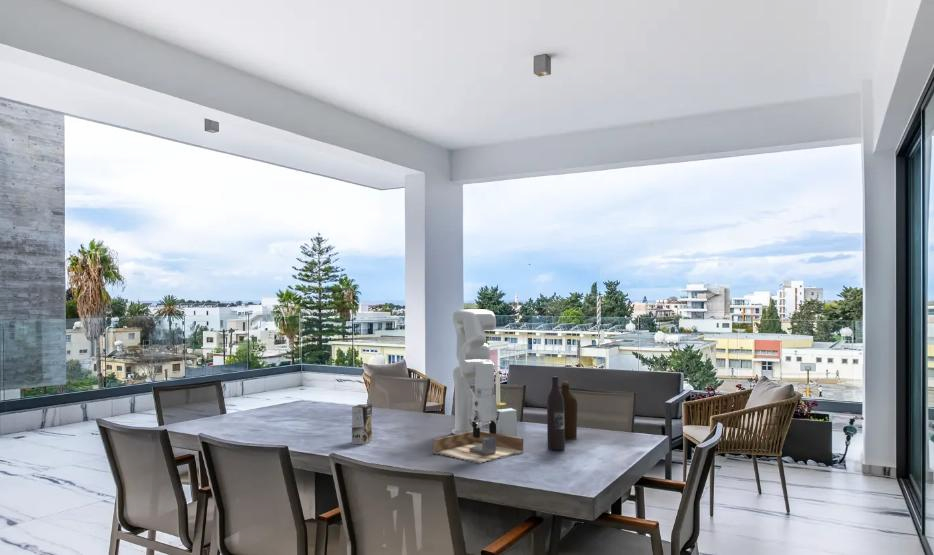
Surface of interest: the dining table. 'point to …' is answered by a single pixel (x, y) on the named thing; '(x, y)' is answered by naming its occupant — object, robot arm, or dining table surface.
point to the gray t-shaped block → (485, 446)
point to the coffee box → (362, 424)
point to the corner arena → (464, 441)
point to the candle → (498, 392)
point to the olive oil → (569, 411)
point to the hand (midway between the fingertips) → (484, 435)
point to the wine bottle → (555, 418)
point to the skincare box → (507, 422)
